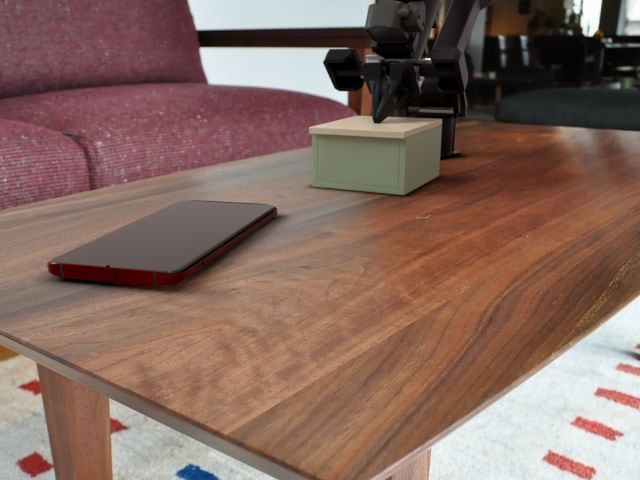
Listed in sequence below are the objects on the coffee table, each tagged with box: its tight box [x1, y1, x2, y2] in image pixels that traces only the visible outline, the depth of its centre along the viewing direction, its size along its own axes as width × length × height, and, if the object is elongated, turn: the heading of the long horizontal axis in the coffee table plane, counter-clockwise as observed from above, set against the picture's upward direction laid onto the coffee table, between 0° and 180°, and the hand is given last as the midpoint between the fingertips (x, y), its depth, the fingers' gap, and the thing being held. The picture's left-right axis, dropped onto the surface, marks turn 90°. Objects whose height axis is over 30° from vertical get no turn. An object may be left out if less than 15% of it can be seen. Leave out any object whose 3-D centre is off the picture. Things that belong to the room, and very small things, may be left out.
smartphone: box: [46, 199, 278, 287], centre depth 63 cm, size 12×2×25 cm
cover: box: [308, 115, 442, 139], centre depth 87 cm, size 14×13×1 cm
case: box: [311, 125, 442, 196], centre depth 88 cm, size 14×13×7 cm
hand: (375, 121), depth 86 cm, fingers closed, pressing on cover
